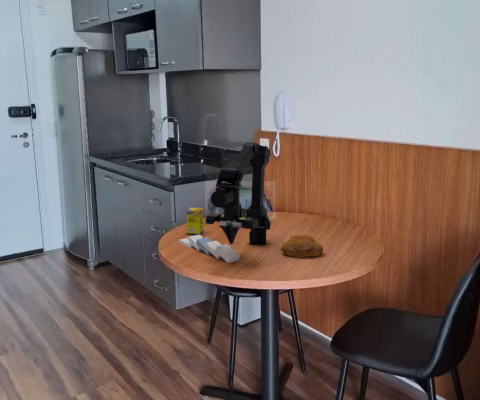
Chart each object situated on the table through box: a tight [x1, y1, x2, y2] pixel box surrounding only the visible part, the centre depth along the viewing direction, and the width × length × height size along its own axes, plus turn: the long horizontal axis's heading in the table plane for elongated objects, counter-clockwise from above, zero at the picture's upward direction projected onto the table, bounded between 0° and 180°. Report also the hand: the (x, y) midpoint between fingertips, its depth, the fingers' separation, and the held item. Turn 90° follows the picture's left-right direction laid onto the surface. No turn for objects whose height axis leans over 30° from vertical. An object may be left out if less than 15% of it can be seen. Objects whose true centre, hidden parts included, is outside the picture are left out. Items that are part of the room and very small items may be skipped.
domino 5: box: [216, 243, 241, 264], centre depth 178 cm, size 2×5×8 cm
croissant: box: [281, 234, 324, 258], centre depth 186 cm, size 14×16×8 cm
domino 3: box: [196, 236, 213, 256], centre depth 187 cm, size 2×5×8 cm
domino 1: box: [178, 237, 195, 249], centre depth 197 cm, size 2×5×8 cm
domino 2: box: [188, 234, 204, 252], centre depth 192 cm, size 2×5×8 cm
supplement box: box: [186, 207, 204, 236], centre depth 211 cm, size 6×6×11 cm
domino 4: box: [205, 240, 223, 259], centre depth 183 cm, size 2×5×8 cm
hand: (231, 243), depth 176 cm, fingers closed
